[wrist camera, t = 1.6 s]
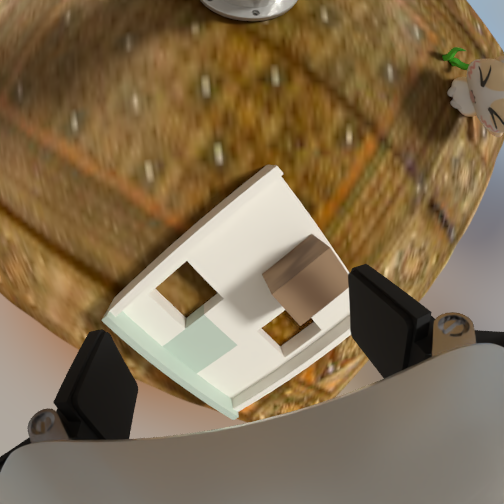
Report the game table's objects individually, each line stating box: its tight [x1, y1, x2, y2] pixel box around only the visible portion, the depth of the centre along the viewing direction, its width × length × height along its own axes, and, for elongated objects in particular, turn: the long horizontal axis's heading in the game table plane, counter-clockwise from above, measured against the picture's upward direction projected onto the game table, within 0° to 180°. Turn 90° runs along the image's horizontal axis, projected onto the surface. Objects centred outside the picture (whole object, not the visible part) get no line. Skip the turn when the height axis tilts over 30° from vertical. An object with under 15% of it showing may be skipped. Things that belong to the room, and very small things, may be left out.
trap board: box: [101, 165, 351, 420], centre depth 32 cm, size 24×22×6 cm
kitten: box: [442, 47, 504, 137], centre depth 23 cm, size 15×10×15 cm
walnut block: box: [262, 234, 349, 326], centre depth 30 cm, size 7×5×5 cm
